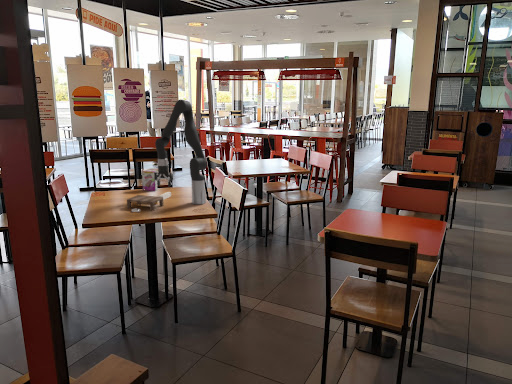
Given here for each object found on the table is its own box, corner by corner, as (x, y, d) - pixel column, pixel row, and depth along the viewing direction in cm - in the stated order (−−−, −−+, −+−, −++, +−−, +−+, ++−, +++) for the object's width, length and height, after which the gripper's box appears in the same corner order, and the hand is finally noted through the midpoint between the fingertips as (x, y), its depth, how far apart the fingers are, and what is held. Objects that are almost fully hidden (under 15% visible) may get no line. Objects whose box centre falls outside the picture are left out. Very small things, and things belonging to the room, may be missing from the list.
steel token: (142, 211, 272) (142, 208, 271) (137, 213, 266) (137, 210, 266) (134, 210, 274) (134, 207, 273) (129, 212, 268) (129, 210, 268)
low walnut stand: (163, 205, 284) (163, 197, 283) (153, 210, 271) (152, 201, 270) (138, 203, 290) (138, 194, 288) (127, 208, 277) (126, 199, 275)
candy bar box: (142, 190, 328) (141, 170, 324) (144, 189, 333) (143, 169, 329) (155, 191, 327) (154, 171, 323) (157, 189, 332) (156, 170, 328)
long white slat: (174, 196, 311) (174, 192, 310) (157, 204, 287) (156, 200, 286) (165, 195, 313) (164, 191, 312) (147, 203, 290) (147, 199, 289)
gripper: (174, 164, 301) (175, 185, 305) (156, 163, 305) (158, 184, 308) (169, 165, 294) (170, 187, 297) (151, 165, 298) (153, 186, 301)
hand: (164, 186), depth 303 cm, fingers open, 8 cm apart
